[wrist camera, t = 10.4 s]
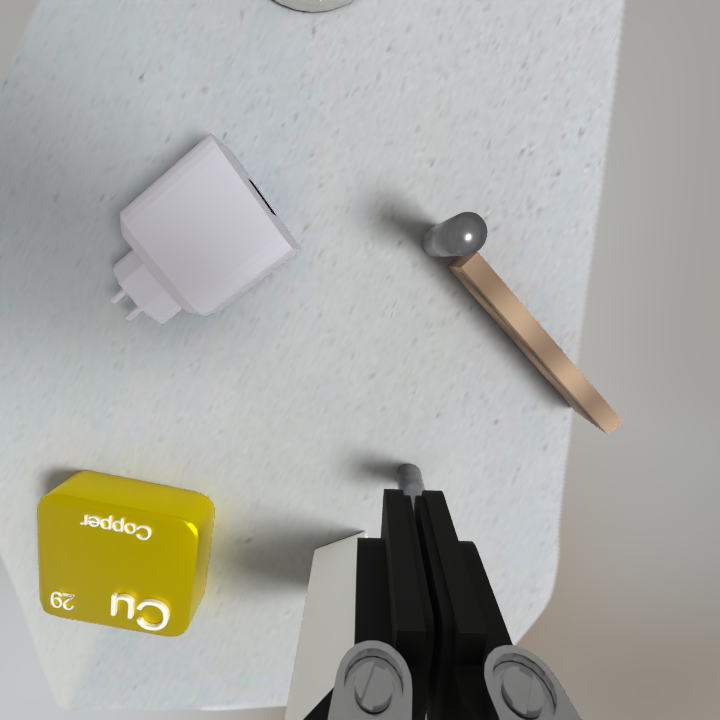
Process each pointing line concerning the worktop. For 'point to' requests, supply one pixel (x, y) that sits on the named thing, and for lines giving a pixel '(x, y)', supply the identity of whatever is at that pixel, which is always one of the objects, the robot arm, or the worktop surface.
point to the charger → (198, 237)
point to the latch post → (410, 481)
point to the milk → (324, 625)
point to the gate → (533, 340)
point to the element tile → (124, 552)
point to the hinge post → (456, 236)
